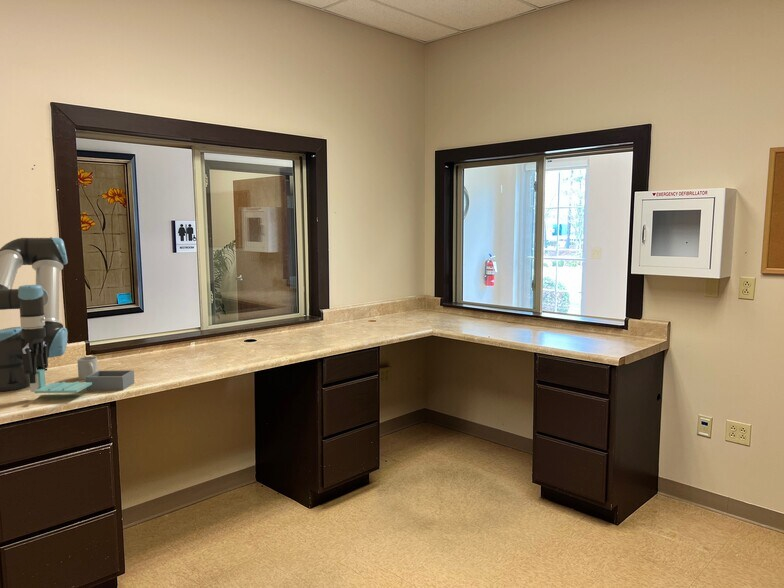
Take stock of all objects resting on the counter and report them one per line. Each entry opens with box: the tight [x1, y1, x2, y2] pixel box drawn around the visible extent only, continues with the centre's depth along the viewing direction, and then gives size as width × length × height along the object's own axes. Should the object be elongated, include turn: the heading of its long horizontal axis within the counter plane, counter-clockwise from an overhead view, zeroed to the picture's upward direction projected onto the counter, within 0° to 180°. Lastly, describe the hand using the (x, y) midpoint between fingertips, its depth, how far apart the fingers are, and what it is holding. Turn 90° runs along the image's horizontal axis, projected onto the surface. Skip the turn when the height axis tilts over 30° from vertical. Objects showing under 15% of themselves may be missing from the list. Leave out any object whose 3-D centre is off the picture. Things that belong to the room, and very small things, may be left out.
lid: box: [29, 368, 92, 394], centre depth 208 cm, size 19×11×7 cm, turn 91°
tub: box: [85, 369, 135, 391], centre depth 222 cm, size 14×10×6 cm
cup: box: [76, 356, 99, 381], centre depth 234 cm, size 7×10×9 cm
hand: (38, 389), depth 208 cm, fingers closed on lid, 3 cm apart
